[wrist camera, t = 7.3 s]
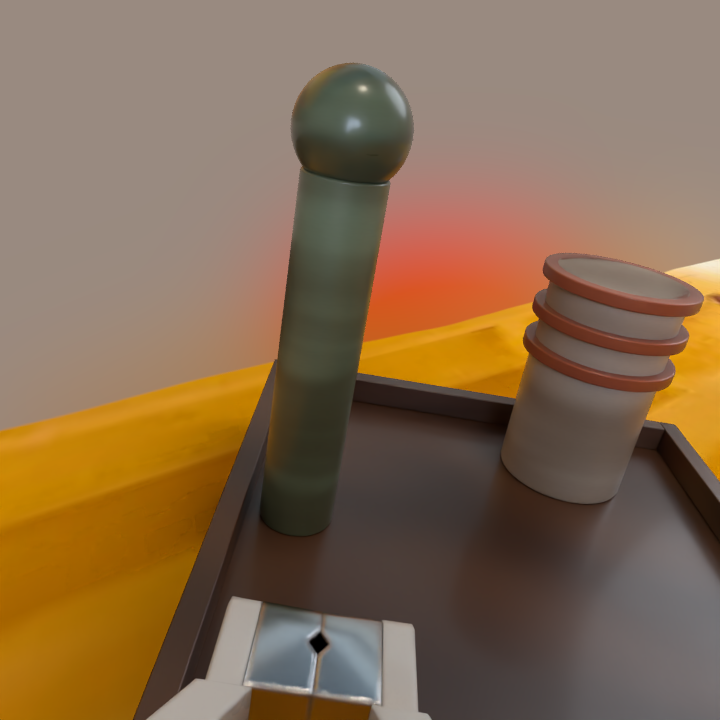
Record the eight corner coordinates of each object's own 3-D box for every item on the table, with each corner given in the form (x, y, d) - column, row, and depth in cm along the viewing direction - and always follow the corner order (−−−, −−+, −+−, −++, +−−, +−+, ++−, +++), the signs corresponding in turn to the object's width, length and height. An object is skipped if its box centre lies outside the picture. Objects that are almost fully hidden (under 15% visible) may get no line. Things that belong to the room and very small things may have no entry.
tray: (979, 923, 15) (1596, 284, 9) (123, 797, 15) (140, 30, 9) (661, 458, 34) (792, 137, 27) (270, 394, 33) (310, 53, 27)
